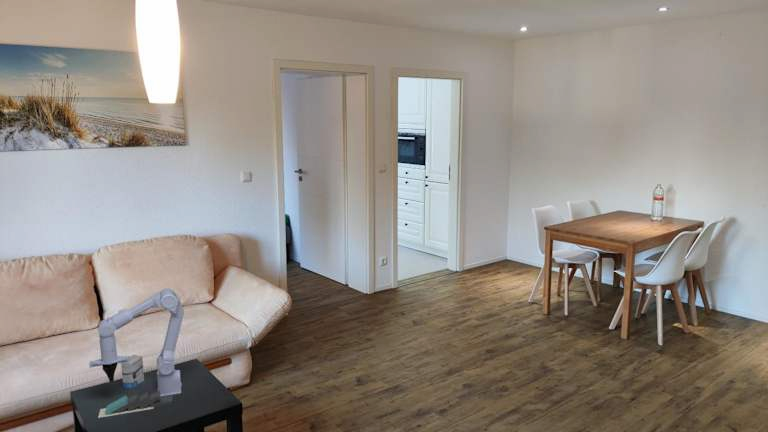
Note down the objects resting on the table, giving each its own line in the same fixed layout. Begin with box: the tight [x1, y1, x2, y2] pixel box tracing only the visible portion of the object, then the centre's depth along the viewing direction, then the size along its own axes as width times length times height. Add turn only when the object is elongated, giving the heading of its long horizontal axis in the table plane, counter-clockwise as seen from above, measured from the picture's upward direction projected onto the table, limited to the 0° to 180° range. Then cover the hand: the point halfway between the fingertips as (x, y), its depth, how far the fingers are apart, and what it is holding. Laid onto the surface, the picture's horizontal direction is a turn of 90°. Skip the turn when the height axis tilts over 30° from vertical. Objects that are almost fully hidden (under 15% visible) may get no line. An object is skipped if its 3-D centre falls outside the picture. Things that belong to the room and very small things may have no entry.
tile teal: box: [105, 395, 129, 415], centre depth 223 cm, size 2×5×8 cm
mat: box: [97, 404, 155, 419], centre depth 224 cm, size 20×7×1 cm, turn 110°
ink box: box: [120, 354, 145, 390], centre depth 245 cm, size 8×5×12 cm, turn 168°
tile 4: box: [139, 389, 161, 409], centre depth 227 cm, size 2×5×8 cm
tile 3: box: [128, 391, 151, 411], centre depth 225 cm, size 2×5×8 cm
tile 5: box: [151, 395, 173, 408], centre depth 228 cm, size 2×5×8 cm
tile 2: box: [117, 393, 140, 413], centre depth 224 cm, size 2×5×8 cm
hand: (111, 380), depth 228 cm, fingers closed
